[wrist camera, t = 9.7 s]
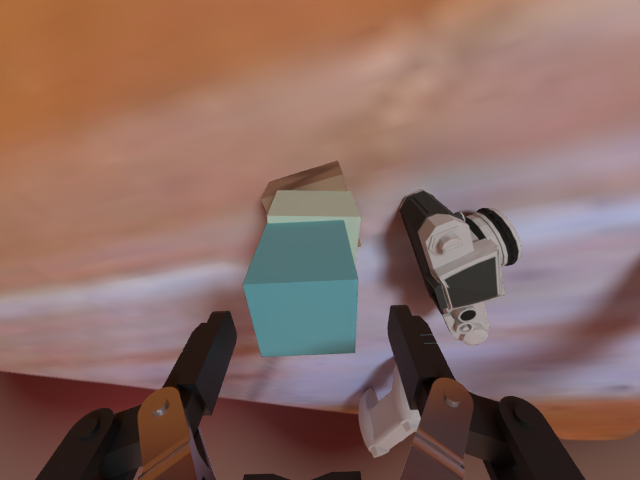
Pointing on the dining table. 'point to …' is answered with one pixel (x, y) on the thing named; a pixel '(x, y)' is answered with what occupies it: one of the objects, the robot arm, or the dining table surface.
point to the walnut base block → (307, 183)
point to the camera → (460, 260)
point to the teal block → (303, 289)
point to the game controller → (386, 418)
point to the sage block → (317, 210)
